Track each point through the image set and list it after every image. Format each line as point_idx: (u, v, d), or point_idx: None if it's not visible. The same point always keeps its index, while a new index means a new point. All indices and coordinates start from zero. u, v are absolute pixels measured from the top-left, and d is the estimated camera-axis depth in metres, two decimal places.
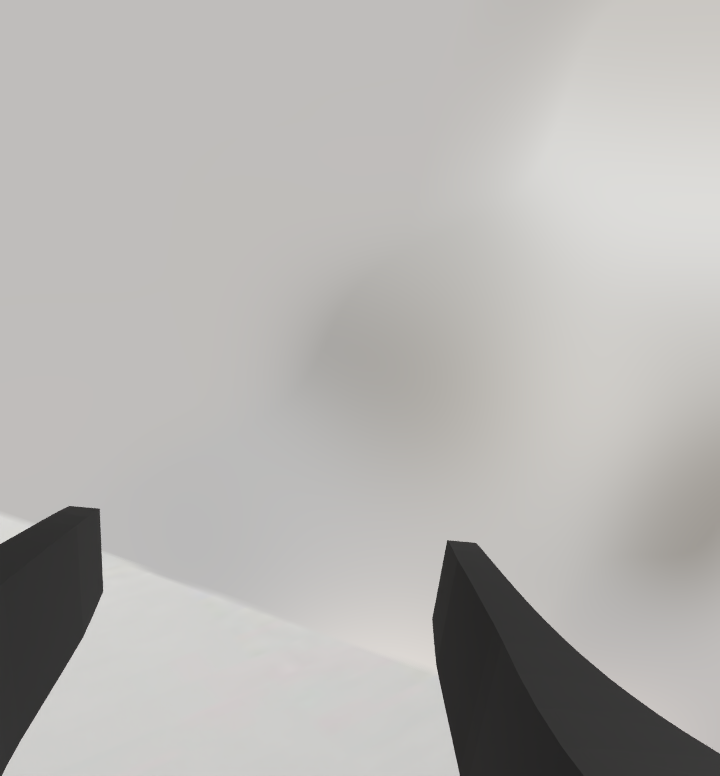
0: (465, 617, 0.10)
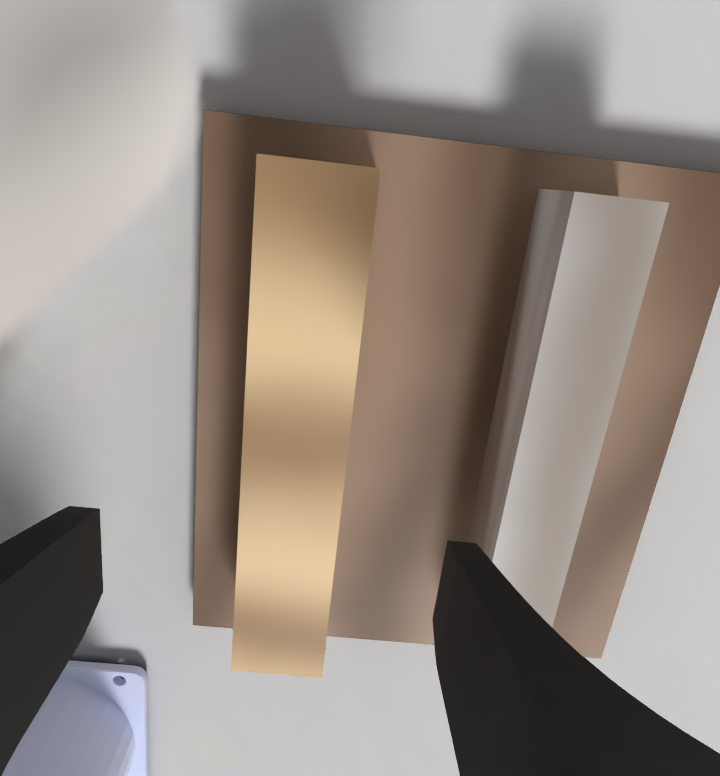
0: (465, 616, 0.10)
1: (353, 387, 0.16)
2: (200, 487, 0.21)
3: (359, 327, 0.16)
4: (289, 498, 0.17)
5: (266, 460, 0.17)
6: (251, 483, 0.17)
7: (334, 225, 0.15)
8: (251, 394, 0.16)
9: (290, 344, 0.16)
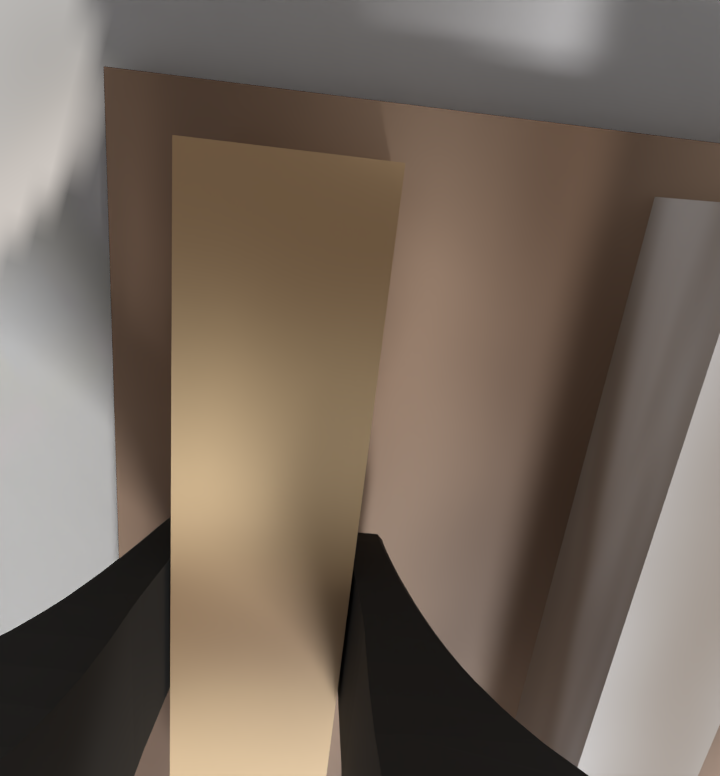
0: (350, 607, 0.10)
1: (354, 534, 0.10)
2: None
3: (364, 440, 0.09)
4: (251, 698, 0.11)
5: (212, 643, 0.10)
6: (188, 676, 0.11)
7: (320, 266, 0.08)
8: (182, 545, 0.10)
9: (245, 467, 0.09)
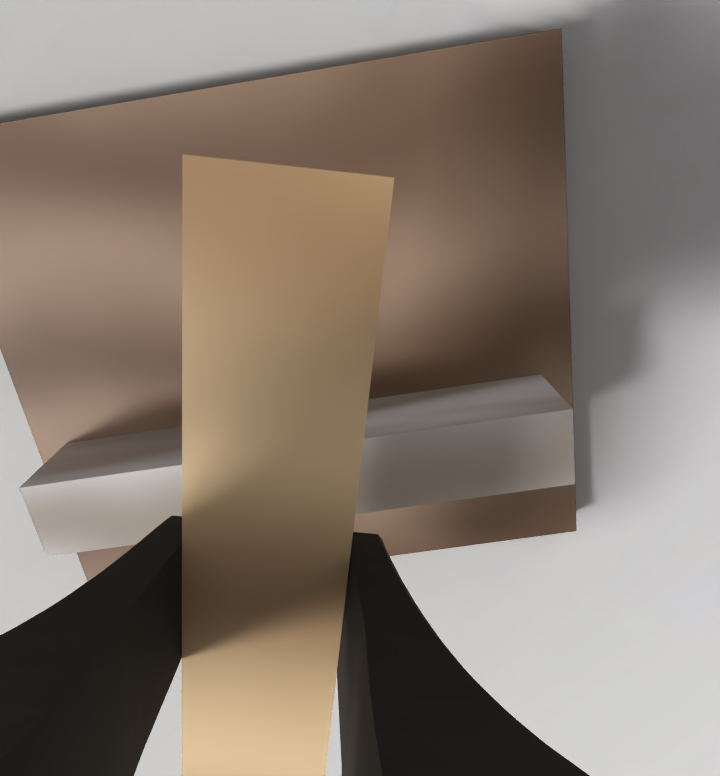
0: (350, 607, 0.10)
1: (351, 519, 0.10)
2: (129, 108, 0.17)
3: (360, 431, 0.10)
4: (256, 674, 0.12)
5: (220, 622, 0.11)
6: (199, 654, 0.11)
7: (317, 272, 0.09)
8: (192, 530, 0.10)
9: (251, 457, 0.10)
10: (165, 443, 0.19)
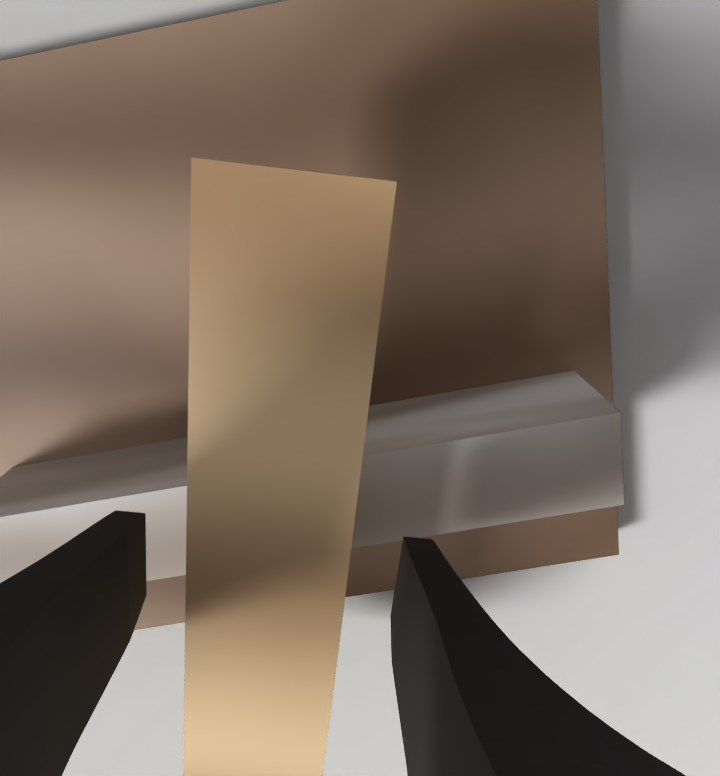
0: (414, 612, 0.10)
1: (352, 514, 0.11)
2: (61, 56, 0.13)
3: (361, 428, 0.10)
4: (258, 666, 0.12)
5: (223, 615, 0.11)
6: (202, 646, 0.12)
7: (321, 272, 0.09)
8: (196, 524, 0.11)
9: (254, 453, 0.10)
10: (125, 466, 0.16)
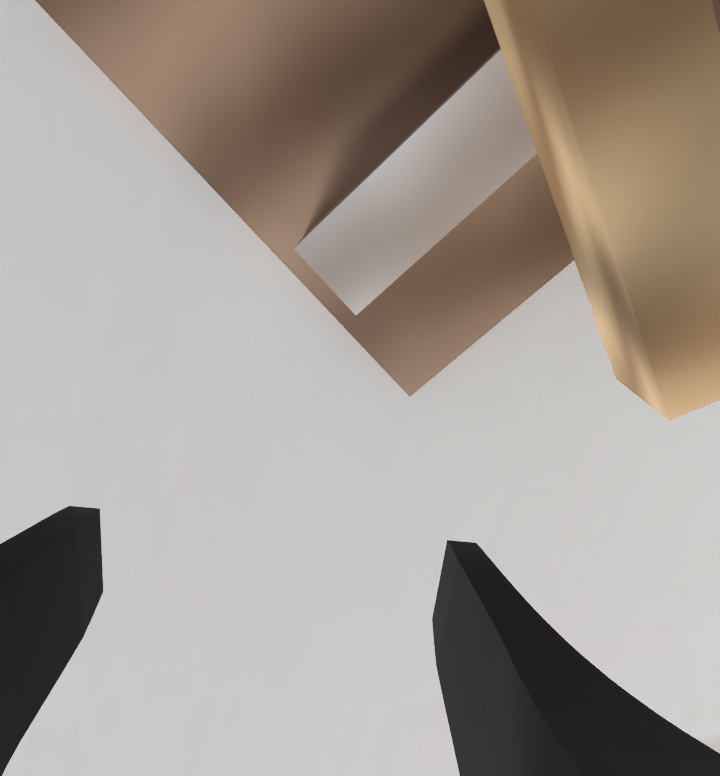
0: (465, 616, 0.10)
1: None
2: None
3: None
4: (650, 108, 0.12)
5: (595, 64, 0.11)
6: (588, 115, 0.12)
7: None
8: None
9: None
10: None
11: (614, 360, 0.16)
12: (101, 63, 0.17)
